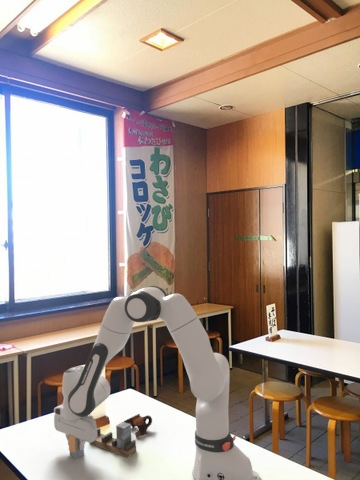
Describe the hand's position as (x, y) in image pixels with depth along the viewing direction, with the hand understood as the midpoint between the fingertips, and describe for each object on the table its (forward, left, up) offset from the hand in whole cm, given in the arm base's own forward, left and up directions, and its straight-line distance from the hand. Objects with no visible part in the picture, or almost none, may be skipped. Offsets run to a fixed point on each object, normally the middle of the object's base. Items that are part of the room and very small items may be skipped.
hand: (76, 447), depth 151 cm
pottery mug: (-9, -26, -3) cm, 27 cm away
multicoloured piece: (0, 0, -3) cm, 3 cm away
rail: (-8, -11, -3) cm, 14 cm away
